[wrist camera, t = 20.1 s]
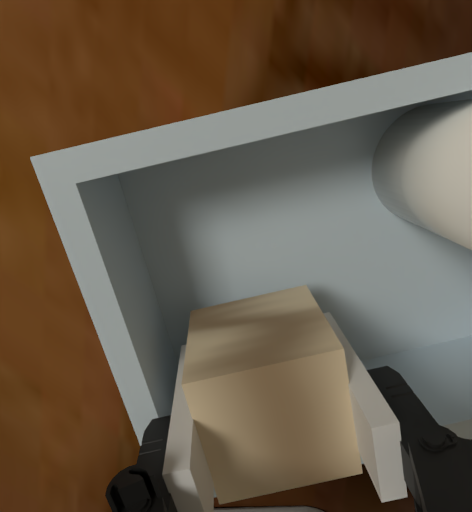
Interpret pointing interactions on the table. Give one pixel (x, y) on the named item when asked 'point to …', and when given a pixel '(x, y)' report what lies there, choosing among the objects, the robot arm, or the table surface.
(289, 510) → the electronic device
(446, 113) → the white egg
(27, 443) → the table surface
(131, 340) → the tote
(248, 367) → the beech cube
